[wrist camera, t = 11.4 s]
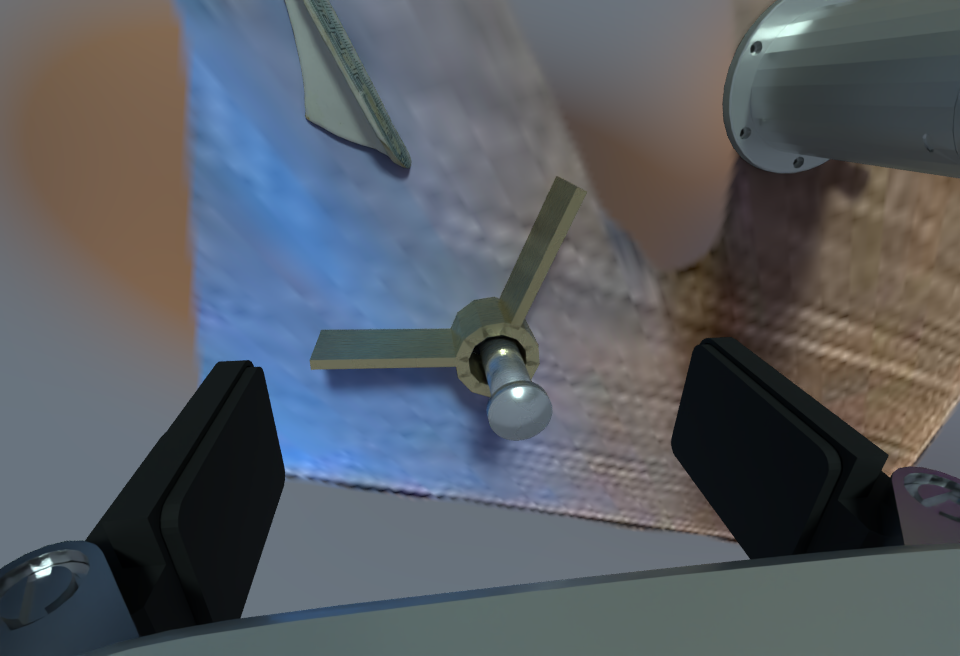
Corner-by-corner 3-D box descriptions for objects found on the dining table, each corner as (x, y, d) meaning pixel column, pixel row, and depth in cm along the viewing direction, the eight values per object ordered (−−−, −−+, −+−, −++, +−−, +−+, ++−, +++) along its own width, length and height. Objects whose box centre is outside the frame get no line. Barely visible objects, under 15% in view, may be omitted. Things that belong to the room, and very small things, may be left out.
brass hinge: (597, 194, 37) (622, 207, 33) (498, 390, 44) (508, 423, 39) (393, 102, 32) (391, 103, 28) (318, 337, 39) (307, 368, 35)
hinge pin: (523, 318, 41) (563, 397, 30) (504, 358, 43) (535, 446, 32) (479, 303, 40) (504, 379, 29) (461, 344, 41) (478, 431, 31)
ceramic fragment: (414, 162, 35) (414, 169, 31) (352, 194, 35) (345, 204, 32) (303, -57, 29) (288, -79, 25) (230, -15, 29) (205, -31, 26)
